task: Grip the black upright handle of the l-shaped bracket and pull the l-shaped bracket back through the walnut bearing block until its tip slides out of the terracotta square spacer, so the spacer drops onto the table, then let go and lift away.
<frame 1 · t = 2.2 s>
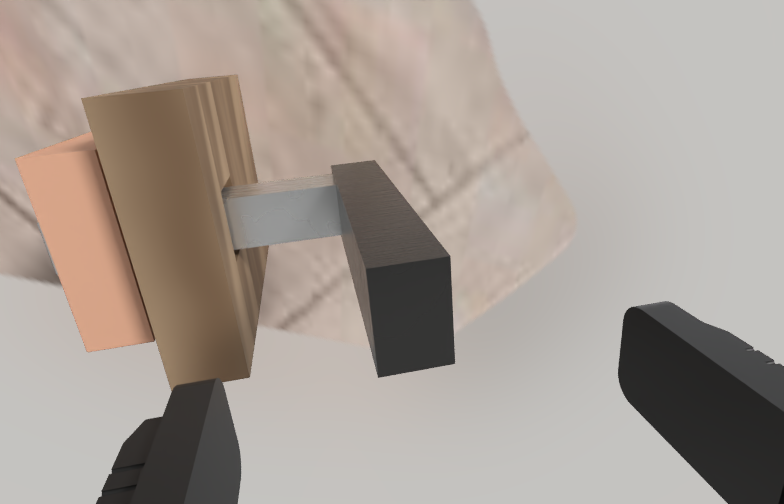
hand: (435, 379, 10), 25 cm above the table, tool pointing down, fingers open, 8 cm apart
bearing block: (230, 166, 32), on the table
spacer: (147, 202, 25), point 7 cm above the table, touching l-shaped bracket
l-shaped bracket: (208, 260, 17), point 17 cm above the table, slide at 0.0 cm, touching spacer
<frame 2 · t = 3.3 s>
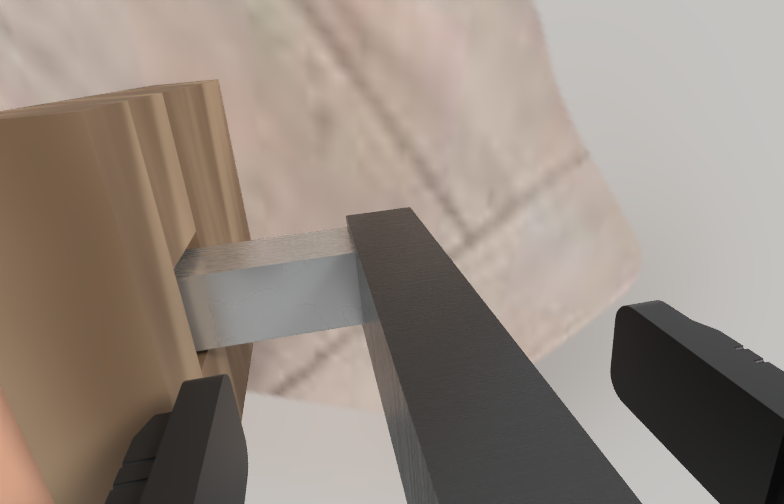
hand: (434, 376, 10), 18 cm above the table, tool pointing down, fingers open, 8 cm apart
bearing block: (210, 197, 25), on the table
spacer: (85, 260, 18), point 7 cm above the table, touching l-shaped bracket
l-shaped bracket: (138, 411, 10), point 17 cm above the table, slide at 0.0 cm, touching spacer
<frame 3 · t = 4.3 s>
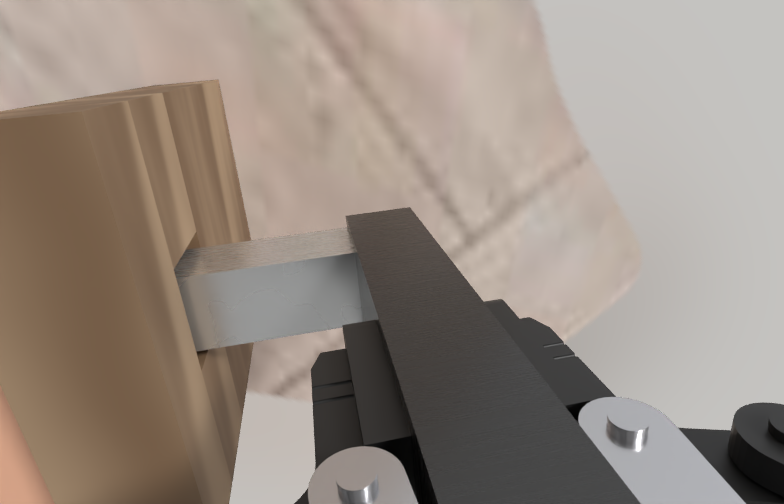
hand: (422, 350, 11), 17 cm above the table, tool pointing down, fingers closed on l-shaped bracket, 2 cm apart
bearing block: (211, 197, 25), on the table
spacer: (85, 260, 18), point 7 cm above the table, touching l-shaped bracket
l-shaped bracket: (138, 411, 10), point 17 cm above the table, slide at 0.0 cm, touching gripper, spacer
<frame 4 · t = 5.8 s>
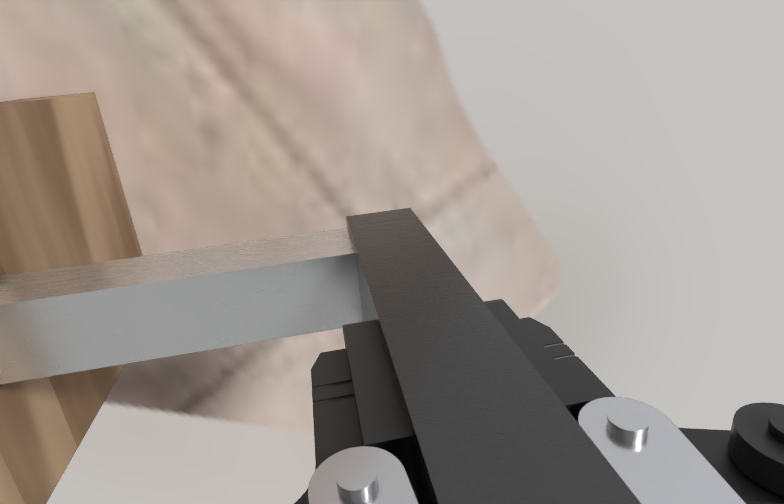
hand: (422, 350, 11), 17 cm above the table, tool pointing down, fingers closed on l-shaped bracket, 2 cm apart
bearing block: (96, 212, 24), on the table
l-shaped bracket: (138, 412, 10), point 17 cm above the table, slide at 5.5 cm, touching gripper
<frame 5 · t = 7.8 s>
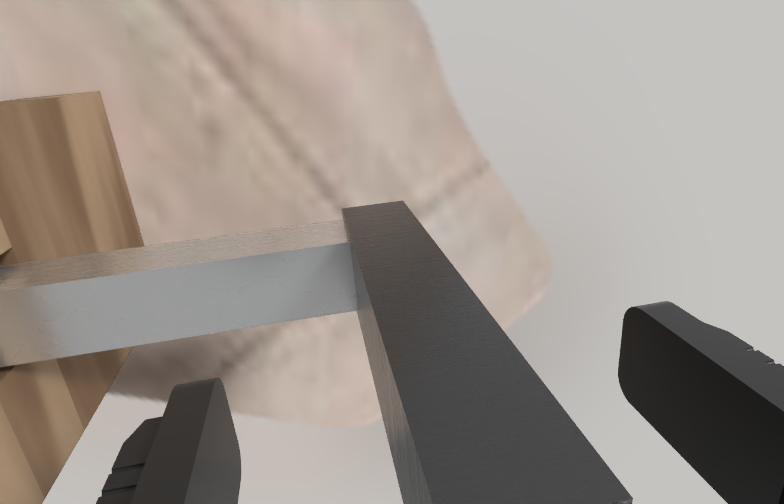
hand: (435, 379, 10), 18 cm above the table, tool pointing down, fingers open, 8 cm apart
bearing block: (100, 208, 25), on the table
l-shaped bracket: (147, 384, 10), point 17 cm above the table, slide at 5.5 cm
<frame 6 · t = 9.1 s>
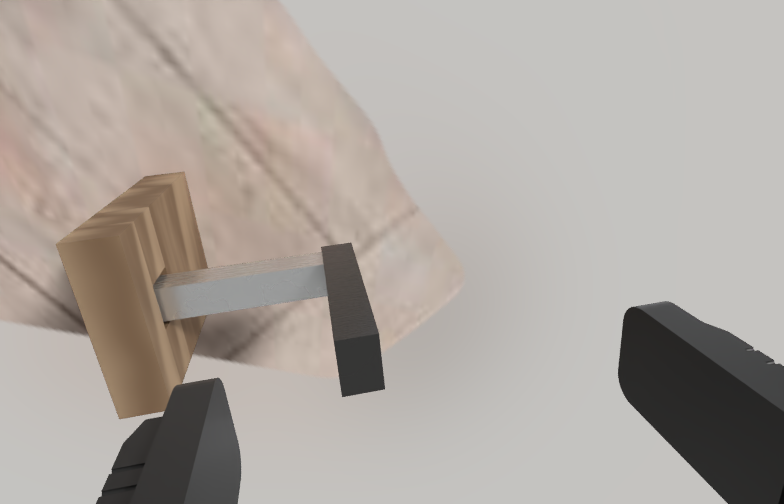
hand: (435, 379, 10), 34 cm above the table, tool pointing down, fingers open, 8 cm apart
bearing block: (181, 238, 42), on the table
l-shaped bracket: (243, 322, 27), point 17 cm above the table, slide at 5.5 cm
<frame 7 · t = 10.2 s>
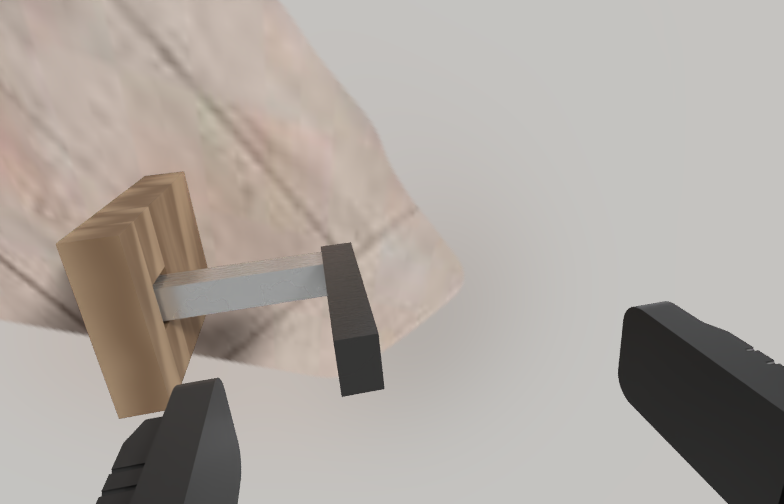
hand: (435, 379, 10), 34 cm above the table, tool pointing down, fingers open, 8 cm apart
bearing block: (181, 237, 42), on the table
l-shaped bracket: (243, 321, 27), point 17 cm above the table, slide at 5.5 cm
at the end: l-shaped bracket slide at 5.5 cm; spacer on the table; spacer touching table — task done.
